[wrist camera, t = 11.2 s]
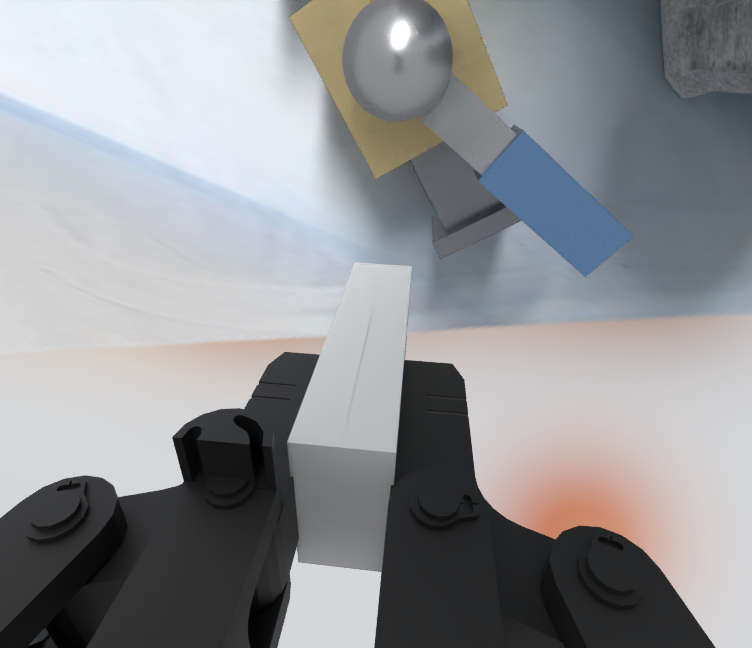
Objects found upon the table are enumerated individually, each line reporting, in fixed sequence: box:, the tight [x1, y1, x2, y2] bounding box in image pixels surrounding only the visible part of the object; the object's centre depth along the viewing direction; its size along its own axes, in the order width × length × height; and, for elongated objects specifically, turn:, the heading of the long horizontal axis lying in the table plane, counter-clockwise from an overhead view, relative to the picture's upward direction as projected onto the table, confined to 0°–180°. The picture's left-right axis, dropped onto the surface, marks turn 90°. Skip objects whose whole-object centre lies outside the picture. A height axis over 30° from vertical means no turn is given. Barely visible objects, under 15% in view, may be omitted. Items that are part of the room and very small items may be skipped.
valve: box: [289, 0, 522, 259], centre depth 27 cm, size 8×22×9 cm, turn 29°
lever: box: [342, 0, 633, 277], centre depth 23 cm, size 17×5×3 cm, turn 52°
